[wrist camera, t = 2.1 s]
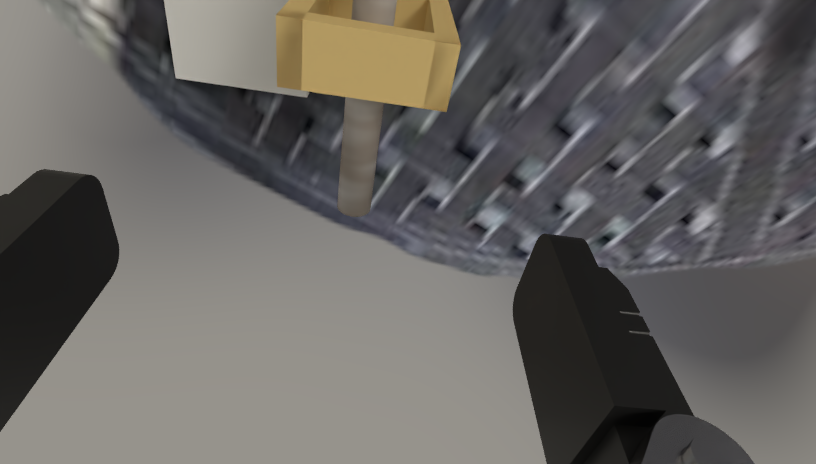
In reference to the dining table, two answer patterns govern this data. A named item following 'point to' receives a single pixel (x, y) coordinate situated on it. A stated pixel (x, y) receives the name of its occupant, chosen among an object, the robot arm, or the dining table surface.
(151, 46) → the dining table surface
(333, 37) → the loop
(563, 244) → the robot arm
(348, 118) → the stand
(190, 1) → the mat
